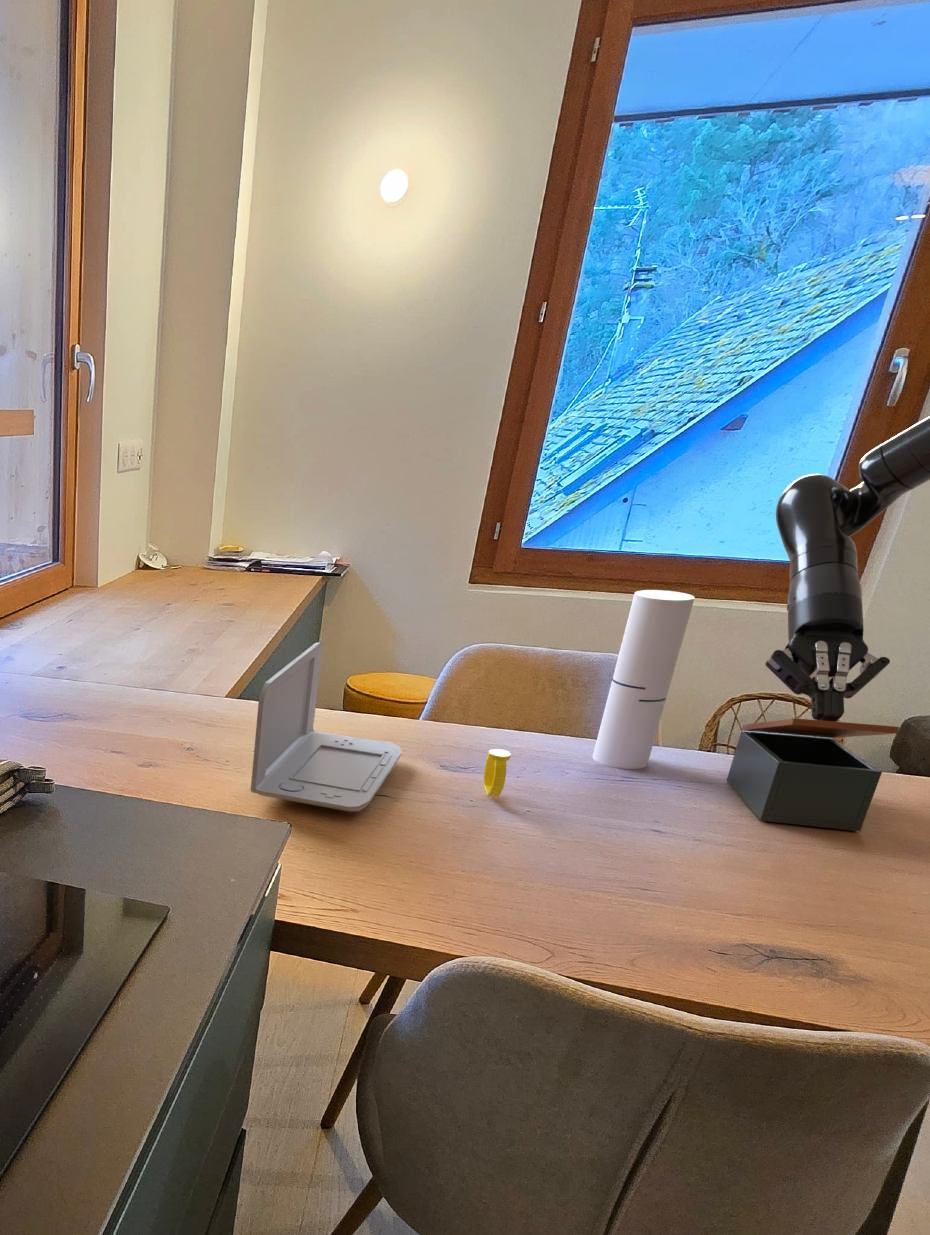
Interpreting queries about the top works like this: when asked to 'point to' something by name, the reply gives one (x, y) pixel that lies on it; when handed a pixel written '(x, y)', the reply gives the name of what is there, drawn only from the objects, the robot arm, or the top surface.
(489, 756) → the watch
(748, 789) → the lidded box
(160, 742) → the top surface
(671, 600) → the cylindrical container
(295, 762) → the game console
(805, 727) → the panel
